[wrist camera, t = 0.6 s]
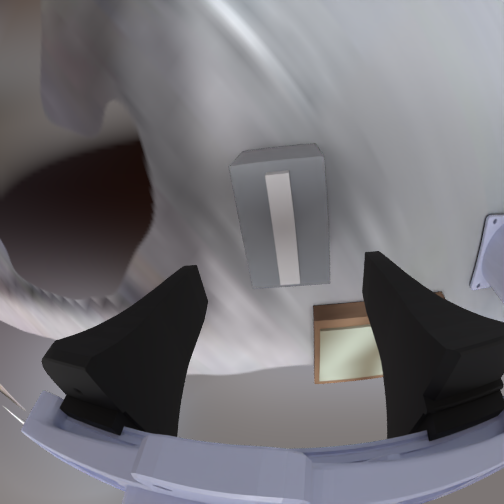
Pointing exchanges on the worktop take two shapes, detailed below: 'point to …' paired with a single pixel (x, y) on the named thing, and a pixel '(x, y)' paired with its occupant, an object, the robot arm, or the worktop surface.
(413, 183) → the worktop surface
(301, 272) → the grey box
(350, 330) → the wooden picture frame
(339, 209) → the worktop surface
